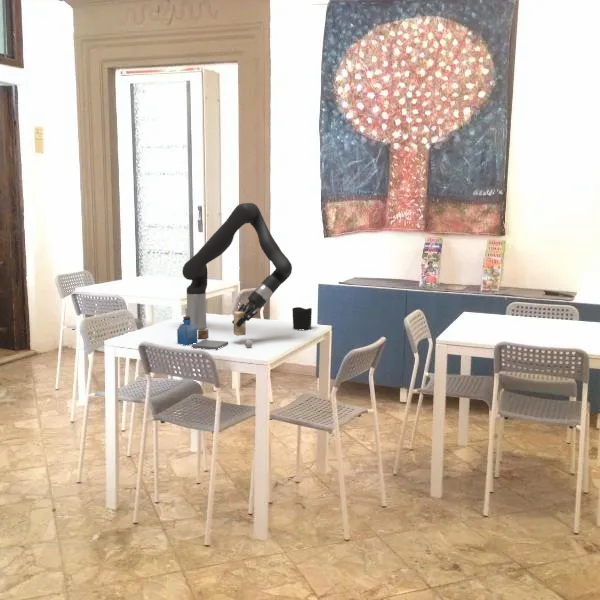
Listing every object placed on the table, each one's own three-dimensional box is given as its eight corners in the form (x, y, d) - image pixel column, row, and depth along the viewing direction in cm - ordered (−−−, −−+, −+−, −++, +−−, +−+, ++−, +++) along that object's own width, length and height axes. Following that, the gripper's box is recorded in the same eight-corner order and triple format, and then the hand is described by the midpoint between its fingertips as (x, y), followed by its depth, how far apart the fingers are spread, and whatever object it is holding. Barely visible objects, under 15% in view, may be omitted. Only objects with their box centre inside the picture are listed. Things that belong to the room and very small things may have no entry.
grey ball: (243, 347, 317) (243, 340, 317) (246, 346, 320) (246, 339, 320) (250, 348, 316) (250, 341, 316) (253, 346, 319) (253, 339, 319)
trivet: (191, 348, 317) (191, 345, 317) (203, 342, 328) (203, 339, 328) (216, 350, 313) (216, 347, 313) (228, 344, 325) (228, 341, 324)
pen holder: (297, 331, 354) (297, 310, 352) (289, 327, 362) (289, 307, 360) (314, 329, 358) (315, 309, 356) (306, 326, 366) (306, 306, 364)
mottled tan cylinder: (237, 335, 324) (237, 313, 323) (233, 333, 328) (233, 311, 326) (245, 334, 326) (245, 312, 324) (242, 333, 329) (242, 311, 328)
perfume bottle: (188, 341, 331) (187, 315, 329) (197, 343, 327) (196, 316, 325) (177, 343, 326) (176, 317, 324) (186, 345, 322) (185, 318, 320)
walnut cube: (198, 339, 335) (197, 330, 335) (199, 337, 339) (199, 329, 339) (206, 339, 335) (206, 331, 334) (208, 337, 339) (208, 329, 338)
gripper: (248, 288, 333) (223, 316, 330) (261, 292, 321) (235, 322, 317) (259, 299, 336) (235, 327, 333) (272, 303, 324) (247, 333, 321)
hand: (235, 324), depth 325 cm, fingers closed on mottled tan cylinder, 4 cm apart
